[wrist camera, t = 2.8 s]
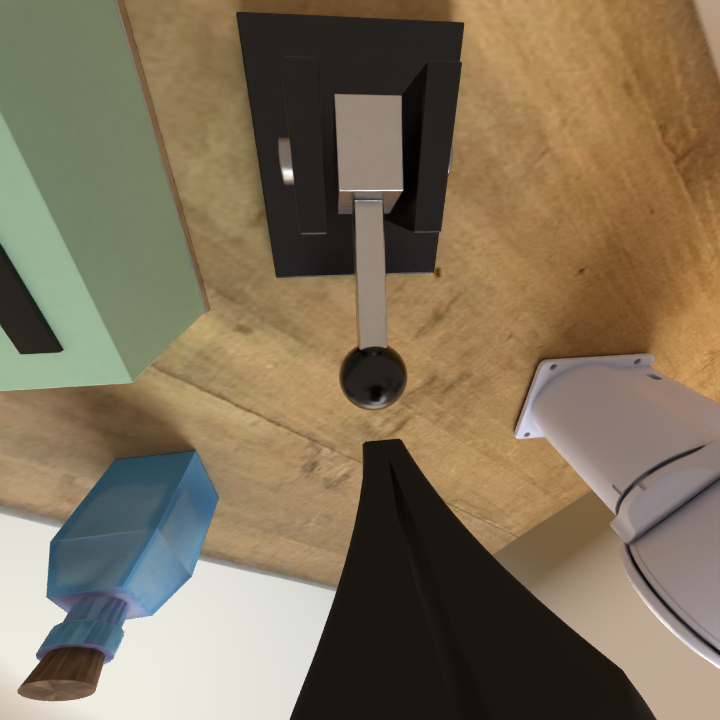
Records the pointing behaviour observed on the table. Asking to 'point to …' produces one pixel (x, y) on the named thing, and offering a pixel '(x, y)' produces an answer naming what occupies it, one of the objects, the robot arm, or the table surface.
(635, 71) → the table surface
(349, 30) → the switch bracket
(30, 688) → the perfume bottle
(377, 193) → the switch lever
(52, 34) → the toaster body
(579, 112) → the table surface
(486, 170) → the table surface
